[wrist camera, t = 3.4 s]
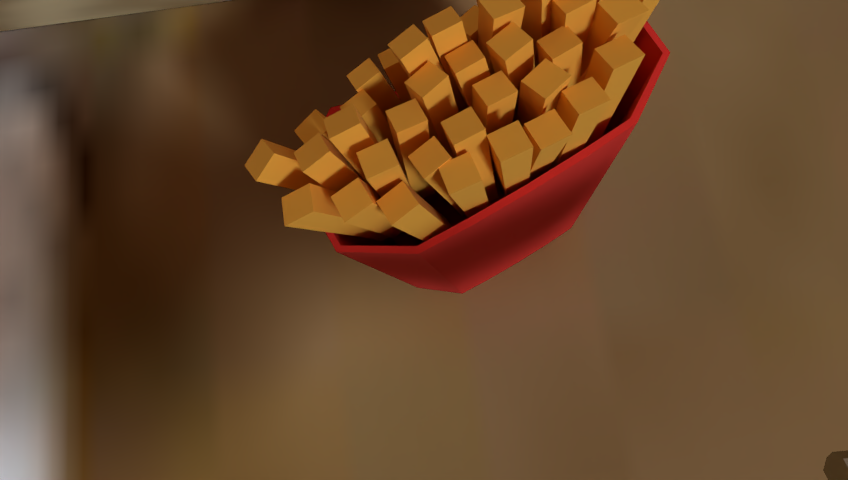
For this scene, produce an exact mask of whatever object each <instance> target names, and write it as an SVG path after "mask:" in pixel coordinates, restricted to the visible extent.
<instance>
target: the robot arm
mask: <svg viewBox="0 0 848 480" xmlns="http://www.w3.org/2000/svg"><path fill="white" fill-rule="evenodd" d="M823 471H824V473H825V475H826V476H827V478H828V480H848V451H838V452H832V453H831V454H830V455H829V456H828V457H827V458H826V462H825V466H824V470H823Z"/></svg>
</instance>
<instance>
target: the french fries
mask: <svg viewBox="0 0 848 480" xmlns="http://www.w3.org/2000/svg"><path fill="white" fill-rule="evenodd" d="M658 2H659V0H477V5H478V7H477V6H476V5H474V6H473V7H472V8H471V9H469V10H468V11H467V12H466V13H465V14H464V15H463V16H461V17H459V16H458V14H457V13H456V12H455V10H454V9H453V8H452V6H450V7H448V8H446V9H444V10H442V11H440V12H439V13H437V14H435V15H433V16H431V17H429V18H427V19H425V20H423V21H422V22H423V25H424V27H425V30H426V32H427V35H428V37H426V36H425V35H424V34H423V33H422V32H421V31H420V30H419V29H418V28H417V27H416V26H415V25H414V24H413V25H411V26H410V27H409V28H408V29H406V30H405V31H404V32H403V33H401V34H400V35H399V36H398V37H396V38H395V39H394V40H392V41H391V42H390V43H389V44H387V45H388V46H389V49H387V50H385V51H383V52H381V53H379V54H378V57H379V60H380V62H381V64H382V66H383V68H384V70H385V72H386V74H387V76H388V78H389V79H390V81H391V83H392V85H393V87H394V89H395V90H396V91H395V92H394V90H393V89H392V88H391V86H390V85H389V83H388V82H387V81H386V79H385V78H384V76H383V75H382V74H381V72H380V71H379V70H378V68H377V67H376V66H375V64H374V63H373V62H372V61H371V59H370V58H368V59H367V60H365V61H364V62H363V63H362V64H360V65H359V66H358V67H357V68H355V69H354V70H353V71H352V72H350V73H349V74H348V75H346V76H347V78H348V79H349V80H350V82H351V83H352V85H353V86H354V88H355V89H356V91H357V92H358V93H357V94H356V95H354V96H353V97H352V98H351V99H349V100H348V101H347V102H345V103H344V104H343V105H339V106H334V107H331V108H330V110H329V111H328V113H327V115H326V117H325V116H324V115H323V114H322V113H320V112H319V111H318V110H316V109H315V110H314V111H313V112H312V113H311V114H310V115H309V116H308V117H307V118H306V119H305V120H304V121H303V122H302V123H301V124H300V125H299V126H298V127H297V128H296V129H295V130H294V131H295V133H296V134H297V135H298V137H299V138H300V139H301V140H302V142H303V143H304V145H303V146H301V147H300V148H299V149H297V150H293V149H290V148H287V147H284V146H281V145H279V144H276V143H273V142H270V141H267V140H264V139H261V140H260V142H259V144H258V145H257V147H256V148H255V150H254V151H253V153H252V154H251V156H250V158H249V159H248V161H247V162H246V164H245V165H244V166H245V167H246V168H247V170H248V171H249V172H250V174H251V175H252V176H253V178H254V179H255V180H256V181H257V182H262V183H266V184H271V185H275V186H280V187H285V188H289V189H294V190H295V191H293V192H291V193H290V194H288V195H286V196H284V197H282V207H283V216H284V226H287V227H294V228H301V229H308V230H315V231H322V232H326V234H327V236H328V238H329V239H330V241H331V243H332V245H333V246H334V248H335V250H336V252H338V253H340V254H343V255H345V256H347V257H349V258H352V259H354V260H356V261H359V262H361V263H363V264H365V265H368V266H370V267H372V268H374V269H377V270H379V271H381V272H384V273H386V274H388V275H390V276H393V277H395V278H397V279H399V280H402V281H404V282H406V283H409V284H411V285H413V286H415V287H418V288H425V289H432V290H440V291H448V292H455V293H464V292H466V291H468V290H470V289H471V288H473V287H475V286H477V285H479V284H481V283H483V282H484V281H486V280H488V279H490V278H492V277H493V276H495V275H497V274H499V273H500V272H502V271H504V270H506V269H507V268H509V267H511V266H512V265H514V264H516V263H518V262H519V261H521V260H522V259H524V258H526V257H527V256H529V255H530V254H532V253H534V252H535V251H537V250H538V249H540V248H542V247H543V246H545V245H546V244H548V243H549V242H551V241H552V240H554V239H555V238H557V237H558V236H560V235H561V234H563V233H564V232H566V231H567V230H569V229H570V228H571V227H572V226H573V224H574V223H575V221H576V219H577V218H578V216H579V215H580V213H581V211H582V210H583V208H584V207H585V205H586V203H587V202H588V200H589V199H590V197H591V195H592V194H593V192H594V191H595V189H596V187H597V186H598V184H599V183H600V181H601V179H602V178H603V176H604V175H605V173H606V172H607V170H608V168H609V167H610V165H611V164H612V162H613V160H614V159H615V157H616V156H617V154H618V152H619V151H620V149H621V148H622V146H623V144H624V143H625V141H626V140H627V138H628V136H629V135H630V133H631V132H632V130H633V129H634V127H635V125H636V124H637V122H638V120H639V118H640V115H641V113H642V111H643V109H644V107H645V105H646V103H647V101H648V99H649V96H650V94H651V92H652V90H653V88H654V86H655V84H656V82H657V79H658V77H659V75H660V73H661V71H662V69H663V67H664V65H665V62H666V60H667V58H668V56H669V54H670V52H669V50H668V49H667V48H666V46H665V45H664V44H663V42H662V41H661V40H660V38H659V37H658V35H657V34H656V33H655V31H654V30H653V29H652V27H651V26H650V25H649V23H648V22H647V20H648V18H649V16H650V15H651V13H652V11H653V10H654V8H655V7H656V5H657V3H658Z"/></svg>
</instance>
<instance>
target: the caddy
mask: <svg viewBox="0 0 848 480" xmlns="http://www.w3.org/2000/svg"><path fill="white" fill-rule="evenodd" d="M223 1H230V0H0V31H7V30H15V29H22V28H30V27H37V26H44V25H52V24H59V23H67V22H74V21H82V20H89V19H96V18H104V17H111V16H119V15H126V14H134V13H141V12H148V11H156V10H163V9H171V8H178V7H186V6H193V5H200V4H208V3H215V2H223Z"/></svg>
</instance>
